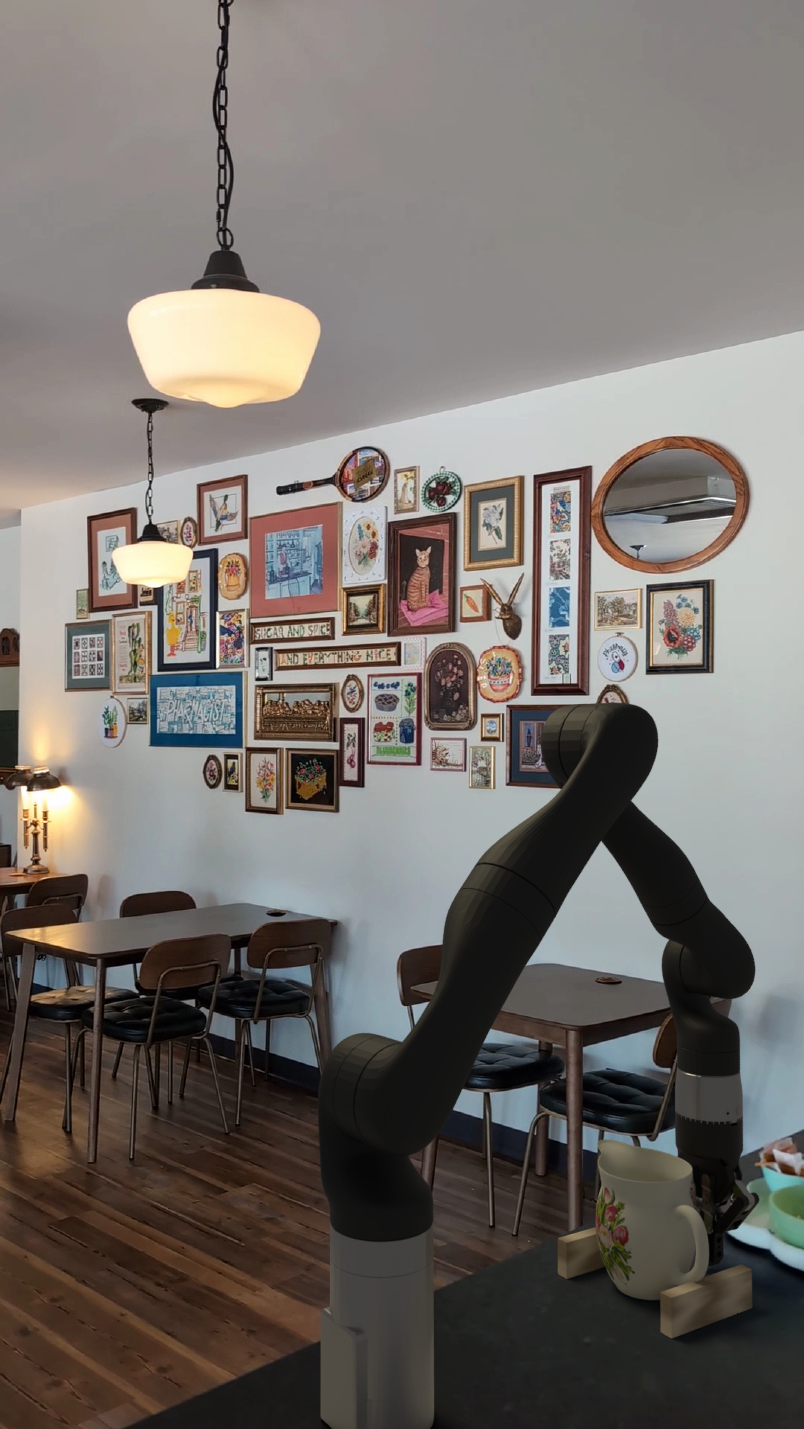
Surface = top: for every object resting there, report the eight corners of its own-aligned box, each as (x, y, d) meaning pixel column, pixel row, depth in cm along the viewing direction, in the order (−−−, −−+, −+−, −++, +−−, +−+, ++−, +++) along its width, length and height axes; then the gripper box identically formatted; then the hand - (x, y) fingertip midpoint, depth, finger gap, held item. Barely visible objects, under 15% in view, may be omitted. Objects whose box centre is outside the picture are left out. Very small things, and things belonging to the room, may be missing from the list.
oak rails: (671, 1338, 117) (671, 1298, 117) (557, 1274, 132) (557, 1238, 132) (752, 1307, 124) (751, 1269, 124) (635, 1249, 138) (634, 1215, 138)
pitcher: (664, 1336, 117) (662, 1198, 118) (564, 1268, 133) (562, 1146, 134) (748, 1314, 122) (745, 1180, 123) (641, 1250, 138) (640, 1133, 139)
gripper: (643, 1099, 137) (644, 1249, 136) (731, 1129, 126) (732, 1293, 125) (688, 1090, 141) (689, 1235, 140) (777, 1118, 130) (778, 1276, 129)
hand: (709, 1262), depth 133 cm, fingers closed
